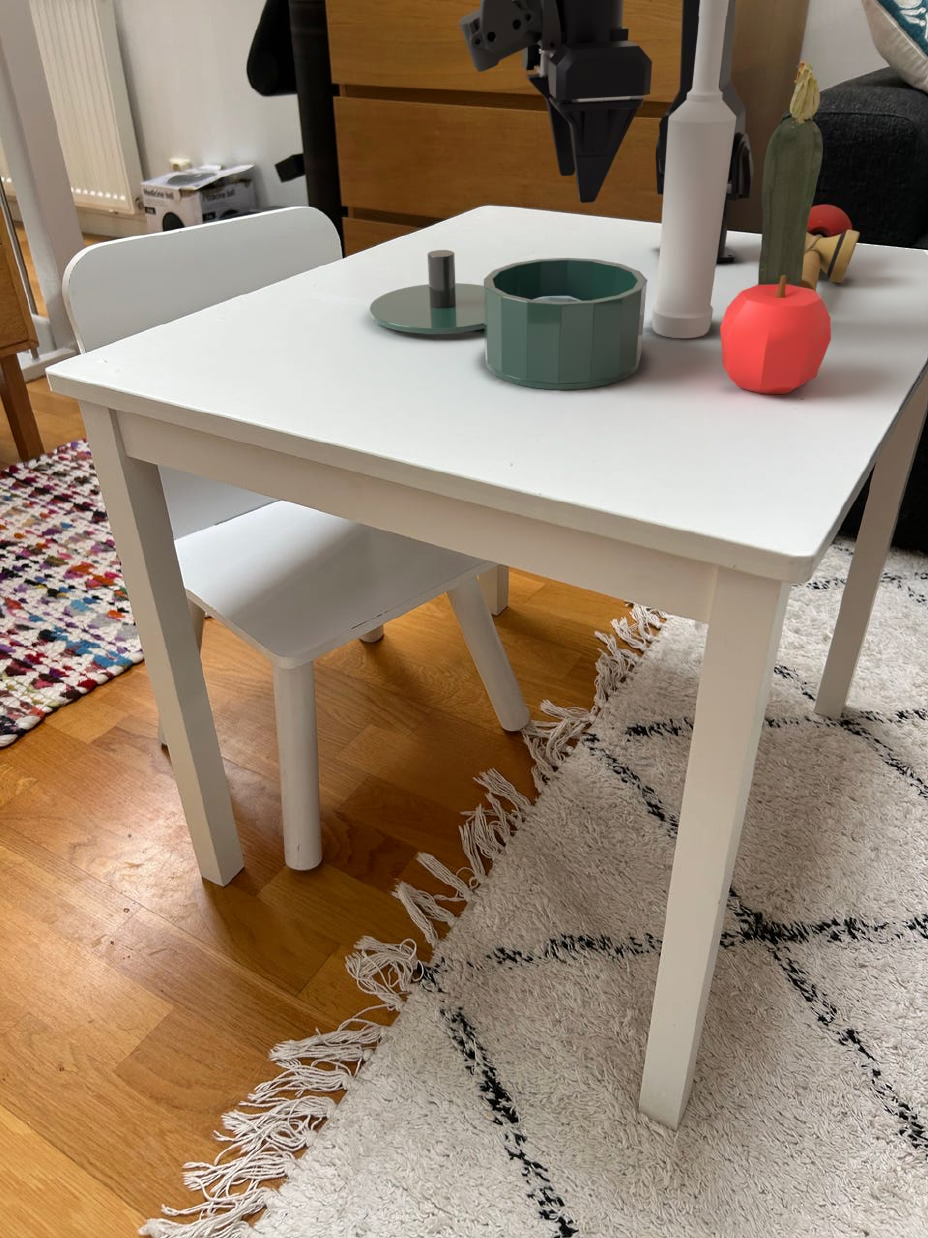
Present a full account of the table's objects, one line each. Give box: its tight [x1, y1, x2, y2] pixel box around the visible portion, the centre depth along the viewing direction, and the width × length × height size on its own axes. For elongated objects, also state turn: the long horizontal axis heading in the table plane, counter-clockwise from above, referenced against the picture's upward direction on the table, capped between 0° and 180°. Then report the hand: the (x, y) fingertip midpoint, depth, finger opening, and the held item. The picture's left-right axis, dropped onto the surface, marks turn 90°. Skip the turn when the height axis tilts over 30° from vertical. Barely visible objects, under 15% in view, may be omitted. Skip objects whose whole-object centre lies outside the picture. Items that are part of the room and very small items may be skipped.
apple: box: [719, 275, 832, 395], centre depth 71 cm, size 8×8×8 cm
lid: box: [369, 249, 484, 335], centre depth 87 cm, size 13×13×6 cm
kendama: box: [800, 204, 860, 293], centre depth 92 cm, size 8×6×18 cm
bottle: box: [651, 0, 736, 339], centre depth 76 cm, size 5×5×25 cm
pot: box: [483, 257, 648, 391], centre depth 76 cm, size 12×12×6 cm
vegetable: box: [757, 59, 824, 287], centre depth 78 cm, size 4×4×20 cm
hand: (576, 187), depth 73 cm, fingers open, 9 cm apart
